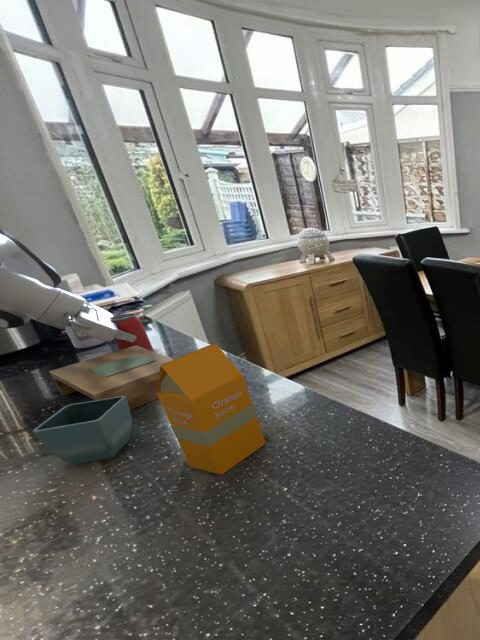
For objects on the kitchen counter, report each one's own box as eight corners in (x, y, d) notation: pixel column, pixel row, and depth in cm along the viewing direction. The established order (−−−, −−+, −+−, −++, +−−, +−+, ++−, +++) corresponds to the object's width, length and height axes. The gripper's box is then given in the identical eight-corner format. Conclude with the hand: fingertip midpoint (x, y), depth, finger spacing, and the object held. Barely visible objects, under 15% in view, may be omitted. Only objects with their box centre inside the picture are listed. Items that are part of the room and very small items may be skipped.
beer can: (145, 351, 113) (128, 311, 109) (160, 353, 111) (144, 314, 107) (118, 360, 108) (99, 319, 103) (133, 364, 106) (114, 322, 101)
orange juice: (266, 443, 73) (233, 344, 65) (221, 475, 65) (177, 368, 57) (235, 435, 75) (199, 339, 67) (187, 466, 67) (141, 362, 59)
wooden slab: (106, 419, 81) (93, 394, 79) (61, 394, 91) (48, 370, 89) (193, 385, 94) (183, 361, 92) (144, 365, 104) (135, 344, 102)
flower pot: (88, 444, 73) (66, 404, 70) (146, 434, 76) (126, 394, 73) (56, 476, 66) (29, 432, 62) (121, 463, 68) (98, 420, 65)
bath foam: (113, 340, 122) (83, 277, 114) (89, 349, 116) (56, 283, 108) (92, 339, 123) (62, 277, 115) (68, 349, 116) (33, 283, 108)
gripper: (74, 308, 91) (145, 335, 101) (73, 292, 104) (137, 317, 114) (55, 331, 90) (129, 356, 100) (57, 312, 103) (123, 336, 113)
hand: (133, 335), depth 107 cm, fingers closed on beer can, 6 cm apart
